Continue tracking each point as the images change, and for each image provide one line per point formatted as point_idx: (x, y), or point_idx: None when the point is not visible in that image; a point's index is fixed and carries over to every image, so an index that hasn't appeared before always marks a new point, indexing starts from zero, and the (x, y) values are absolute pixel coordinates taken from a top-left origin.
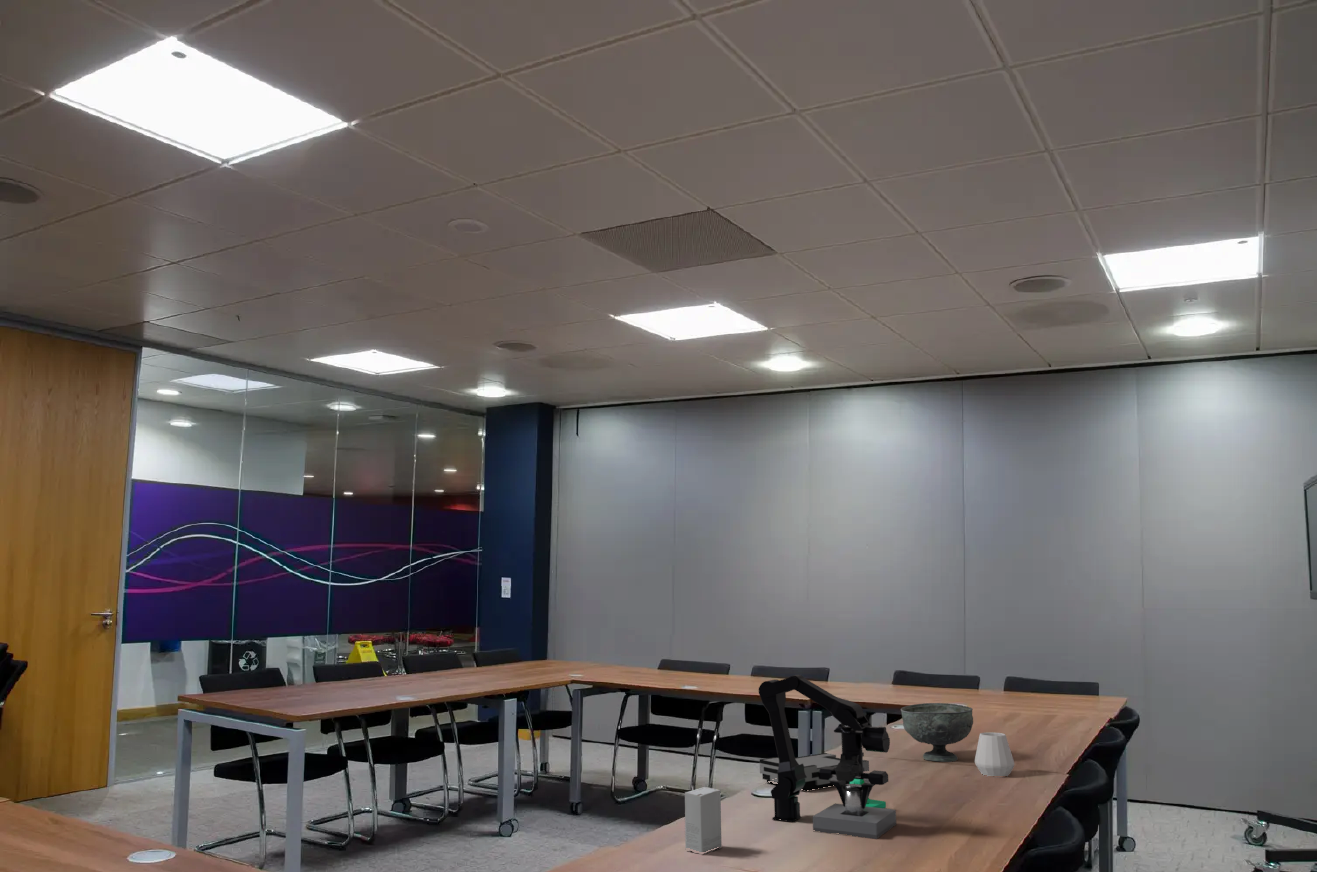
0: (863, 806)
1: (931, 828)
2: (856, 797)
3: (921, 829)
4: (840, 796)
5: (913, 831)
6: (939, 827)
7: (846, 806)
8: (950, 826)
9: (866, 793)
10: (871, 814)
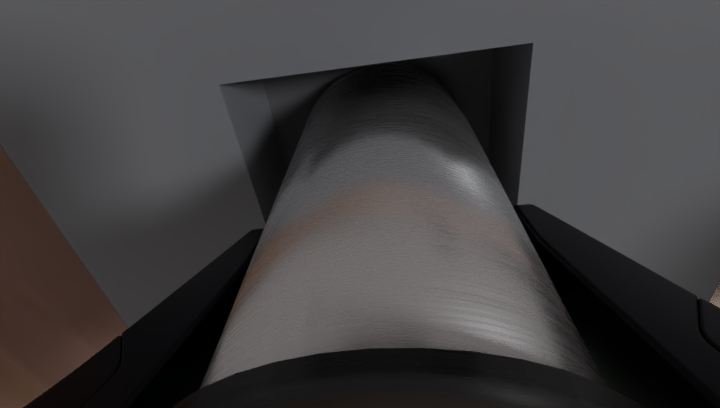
0: (243, 237)
1: (34, 338)
2: (263, 266)
3: (46, 303)
4: (647, 274)
5: (32, 250)
6: (30, 365)
7: (465, 149)
8: (18, 393)
9: (39, 398)
10: (209, 223)
